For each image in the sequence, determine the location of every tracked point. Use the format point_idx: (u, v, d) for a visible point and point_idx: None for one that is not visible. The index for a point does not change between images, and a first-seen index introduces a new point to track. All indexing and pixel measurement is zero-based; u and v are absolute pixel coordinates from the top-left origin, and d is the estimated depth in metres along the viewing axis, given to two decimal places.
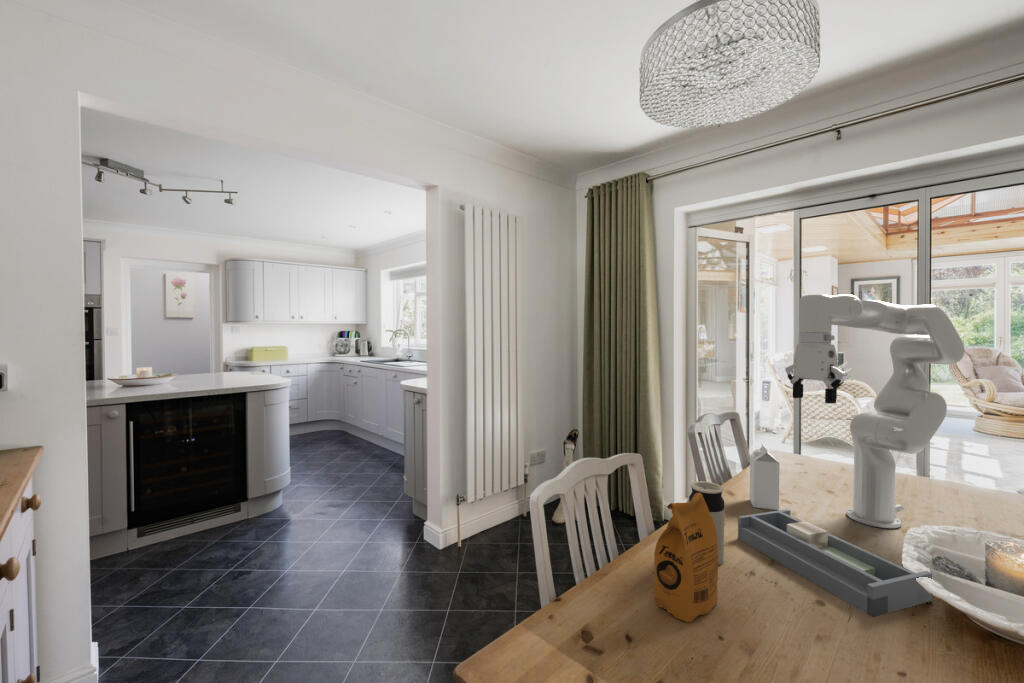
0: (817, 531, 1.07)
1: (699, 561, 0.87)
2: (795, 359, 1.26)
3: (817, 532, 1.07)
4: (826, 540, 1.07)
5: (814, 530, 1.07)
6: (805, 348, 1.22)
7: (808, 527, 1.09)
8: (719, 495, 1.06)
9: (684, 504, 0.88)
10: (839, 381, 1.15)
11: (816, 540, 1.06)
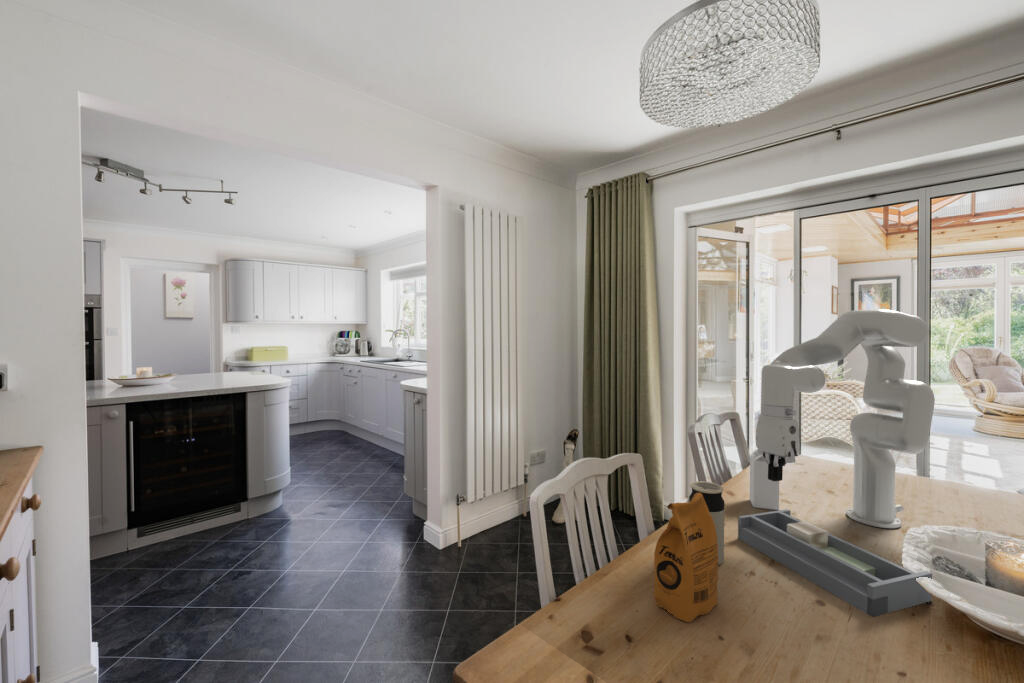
0: (817, 531, 1.07)
1: (699, 561, 0.87)
2: (757, 430, 1.20)
3: (817, 532, 1.07)
4: (826, 540, 1.07)
5: (814, 530, 1.07)
6: (766, 420, 1.17)
7: (808, 527, 1.09)
8: (719, 495, 1.06)
9: (684, 504, 0.88)
10: (784, 462, 1.14)
11: (816, 540, 1.06)
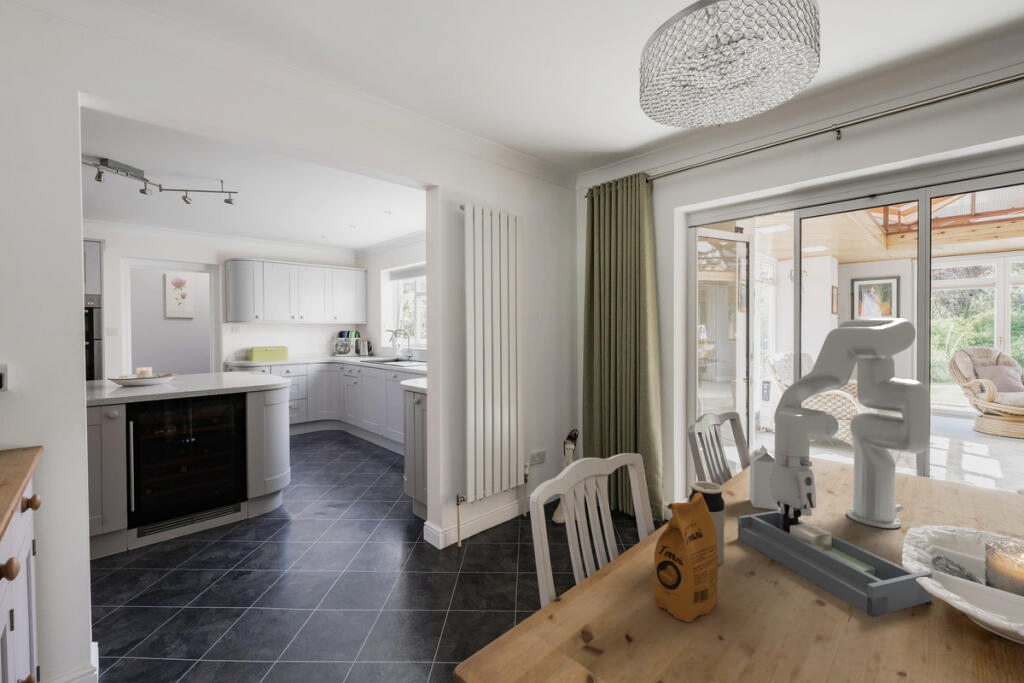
0: (820, 533, 1.06)
1: (699, 561, 0.87)
2: (771, 478, 1.16)
3: (820, 533, 1.06)
4: (830, 542, 1.06)
5: (818, 532, 1.06)
6: (781, 470, 1.13)
7: (812, 529, 1.08)
8: (719, 495, 1.06)
9: (684, 504, 0.88)
10: (799, 514, 1.10)
11: (820, 542, 1.05)
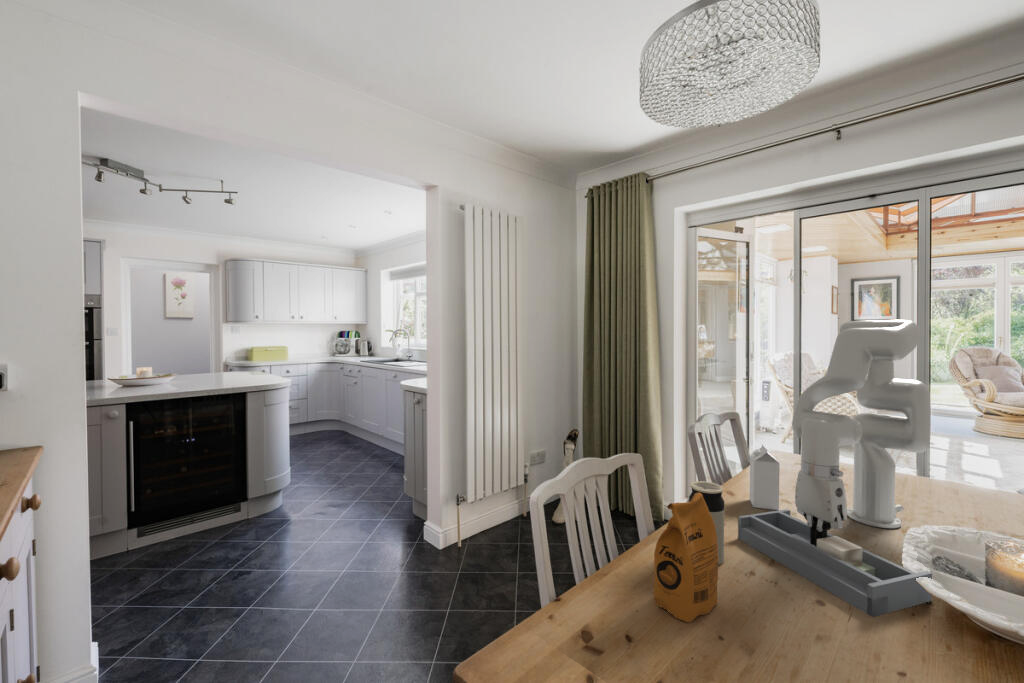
0: (850, 547, 0.99)
1: (699, 561, 0.87)
2: (797, 488, 1.09)
3: (850, 548, 0.99)
4: (860, 557, 0.99)
5: (847, 546, 0.99)
6: (808, 479, 1.06)
7: (841, 543, 1.01)
8: (719, 495, 1.06)
9: (684, 504, 0.88)
10: (829, 527, 1.03)
11: (850, 557, 0.98)
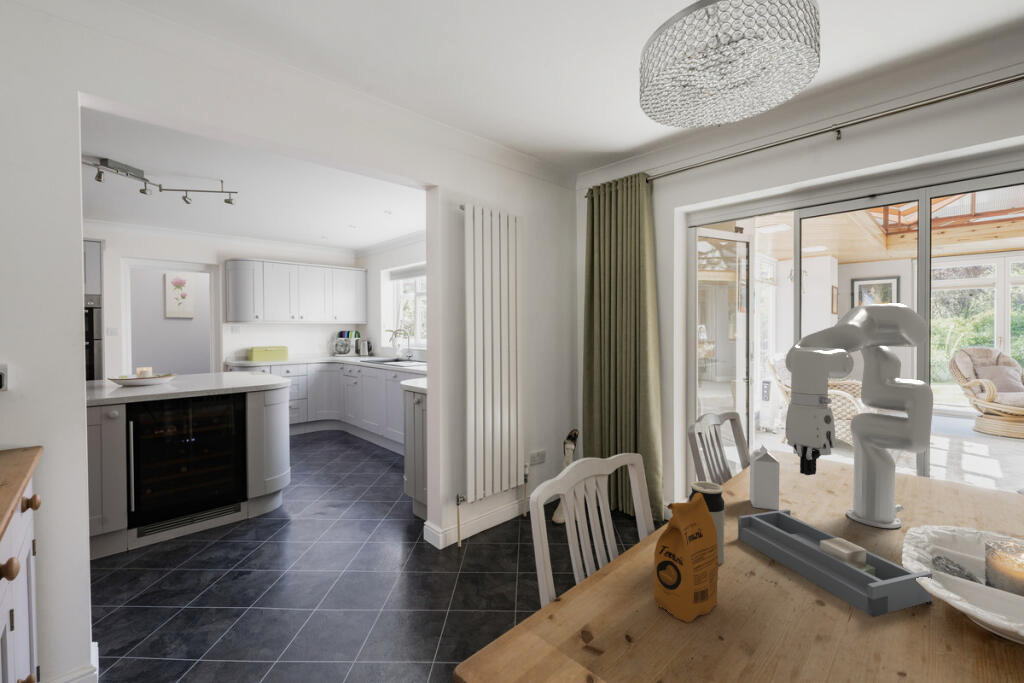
0: (854, 549, 0.98)
1: (699, 561, 0.87)
2: (787, 420, 1.11)
3: (854, 550, 0.98)
4: (864, 559, 0.98)
5: (851, 548, 0.99)
6: (798, 410, 1.08)
7: (844, 544, 1.00)
8: (719, 495, 1.06)
9: (684, 504, 0.88)
10: (818, 454, 1.05)
11: (854, 559, 0.97)
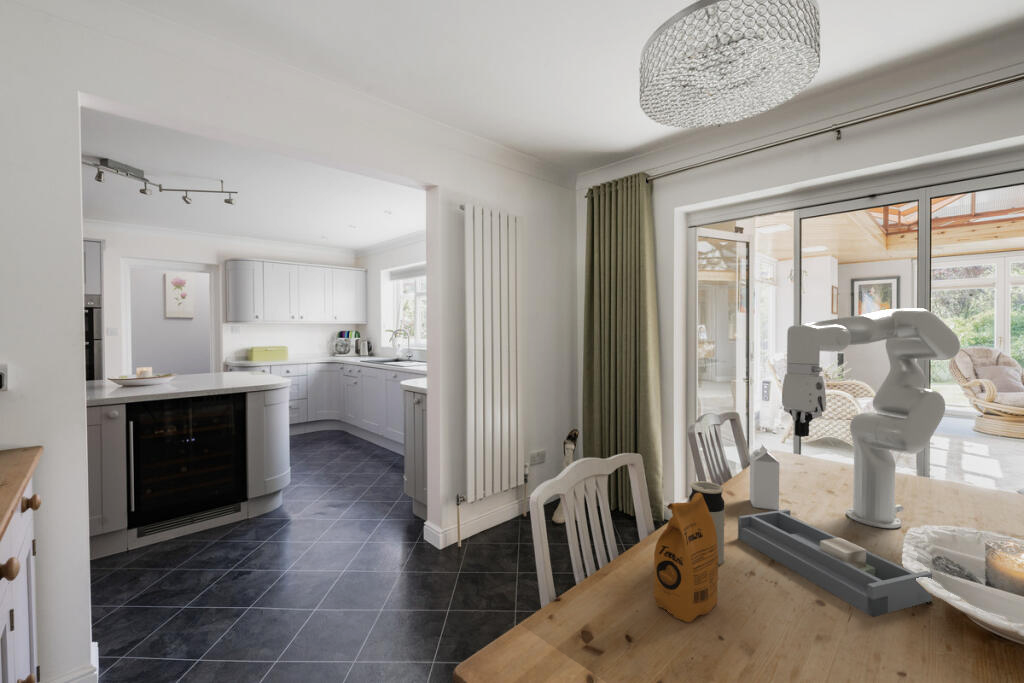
0: (854, 549, 0.98)
1: (699, 561, 0.87)
2: (783, 389, 1.25)
3: (854, 550, 0.98)
4: (864, 559, 0.98)
5: (851, 548, 0.99)
6: (793, 379, 1.22)
7: (844, 544, 1.00)
8: (719, 495, 1.06)
9: (684, 504, 0.88)
10: (810, 417, 1.19)
11: (854, 559, 0.97)
